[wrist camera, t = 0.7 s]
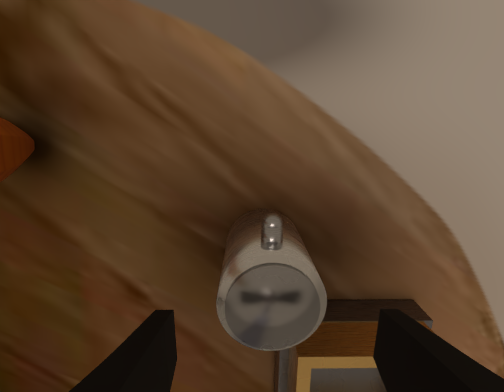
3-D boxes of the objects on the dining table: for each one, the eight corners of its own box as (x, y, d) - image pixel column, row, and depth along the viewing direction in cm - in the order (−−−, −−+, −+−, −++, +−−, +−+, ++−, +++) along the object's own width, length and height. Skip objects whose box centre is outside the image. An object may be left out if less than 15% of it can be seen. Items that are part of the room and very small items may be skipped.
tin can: (297, 275, 18) (324, 356, 11) (227, 276, 17) (216, 357, 11) (302, 185, 16) (337, 222, 10) (225, 185, 16) (213, 222, 10)
